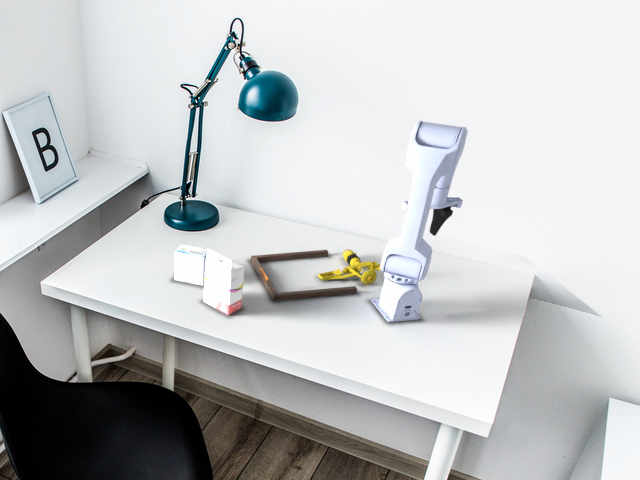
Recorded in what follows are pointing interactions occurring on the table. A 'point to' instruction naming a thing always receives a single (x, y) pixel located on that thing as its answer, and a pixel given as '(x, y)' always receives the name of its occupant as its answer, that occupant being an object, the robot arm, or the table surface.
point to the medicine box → (190, 264)
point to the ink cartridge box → (223, 283)
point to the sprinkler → (354, 269)
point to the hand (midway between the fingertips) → (424, 234)
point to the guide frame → (296, 294)
